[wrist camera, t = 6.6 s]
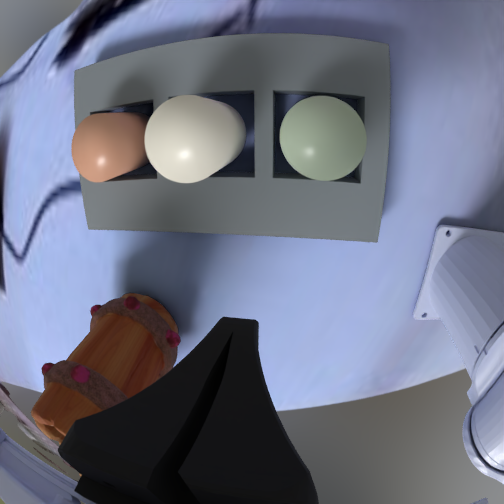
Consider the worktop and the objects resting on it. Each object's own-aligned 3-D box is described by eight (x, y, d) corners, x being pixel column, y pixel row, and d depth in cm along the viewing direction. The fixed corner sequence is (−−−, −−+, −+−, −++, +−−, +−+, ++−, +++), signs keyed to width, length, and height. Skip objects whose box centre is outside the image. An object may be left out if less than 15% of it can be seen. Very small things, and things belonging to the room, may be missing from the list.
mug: (108, 263, 23) (-10, 385, 9) (195, 292, 22) (106, 464, 9) (118, 369, 29) (60, 469, 16) (183, 394, 29) (138, 508, 15)
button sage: (350, 105, 15) (367, 100, 11) (348, 169, 16) (363, 184, 13) (283, 101, 15) (279, 93, 11) (282, 165, 17) (279, 178, 13)
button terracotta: (157, 108, 16) (122, 107, 12) (160, 166, 18) (127, 180, 14) (109, 116, 17) (69, 120, 13) (112, 170, 19) (75, 184, 15)
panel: (379, 51, 13) (388, 44, 11) (370, 230, 18) (377, 242, 16) (91, 72, 16) (74, 70, 14) (102, 220, 21) (88, 229, 19)
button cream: (245, 99, 14) (228, 91, 10) (246, 168, 16) (230, 182, 12) (178, 104, 15) (142, 101, 11) (180, 168, 17) (147, 184, 13)
